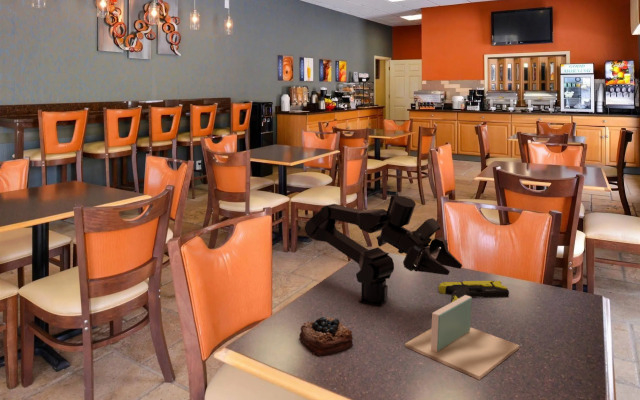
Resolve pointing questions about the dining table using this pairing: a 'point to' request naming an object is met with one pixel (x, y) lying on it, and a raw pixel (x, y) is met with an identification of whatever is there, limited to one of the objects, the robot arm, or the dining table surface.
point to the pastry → (325, 336)
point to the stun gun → (474, 289)
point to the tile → (450, 322)
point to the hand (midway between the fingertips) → (455, 270)
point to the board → (467, 351)
